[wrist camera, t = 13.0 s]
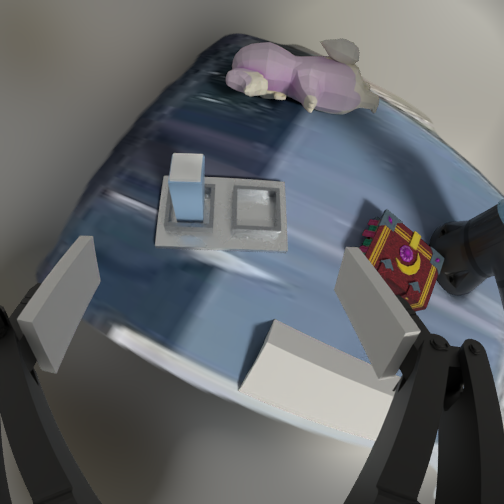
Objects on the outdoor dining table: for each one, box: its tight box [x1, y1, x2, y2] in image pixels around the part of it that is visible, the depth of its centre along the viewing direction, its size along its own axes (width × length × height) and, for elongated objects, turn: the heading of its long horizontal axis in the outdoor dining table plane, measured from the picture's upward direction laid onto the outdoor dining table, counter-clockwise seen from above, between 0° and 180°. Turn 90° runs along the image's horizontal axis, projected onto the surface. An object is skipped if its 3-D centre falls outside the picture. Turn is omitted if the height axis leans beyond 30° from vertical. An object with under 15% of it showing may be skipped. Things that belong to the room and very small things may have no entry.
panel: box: [155, 176, 288, 253], centre depth 46 cm, size 20×12×3 cm, turn 90°
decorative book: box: [359, 209, 445, 311], centre depth 47 cm, size 11×16×5 cm
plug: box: [168, 153, 205, 223], centre depth 39 cm, size 4×5×13 cm
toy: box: [226, 39, 379, 114], centre depth 50 cm, size 29×17×30 cm
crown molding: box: [238, 319, 401, 441], centre depth 41 cm, size 29×12×4 cm, turn 64°
